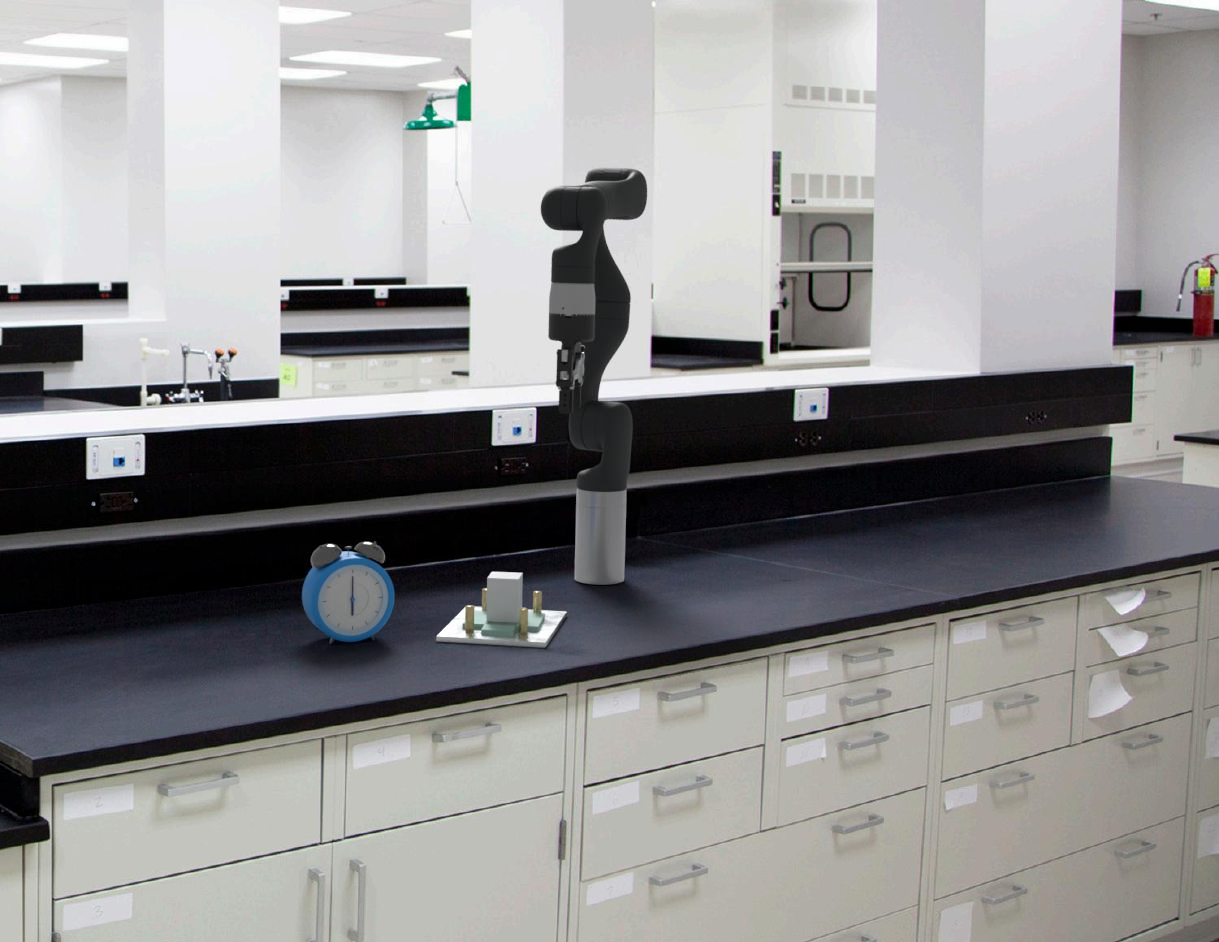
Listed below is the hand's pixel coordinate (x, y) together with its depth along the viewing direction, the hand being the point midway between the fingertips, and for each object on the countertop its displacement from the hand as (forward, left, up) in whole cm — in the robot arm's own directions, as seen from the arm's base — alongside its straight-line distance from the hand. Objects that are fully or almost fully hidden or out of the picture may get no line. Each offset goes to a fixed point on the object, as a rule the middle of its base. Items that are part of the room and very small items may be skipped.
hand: (569, 410), depth 247 cm
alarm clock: (+24, -30, -34) cm, 52 cm away
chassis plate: (+12, -8, -34) cm, 37 cm away
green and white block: (+12, -8, -33) cm, 36 cm away
